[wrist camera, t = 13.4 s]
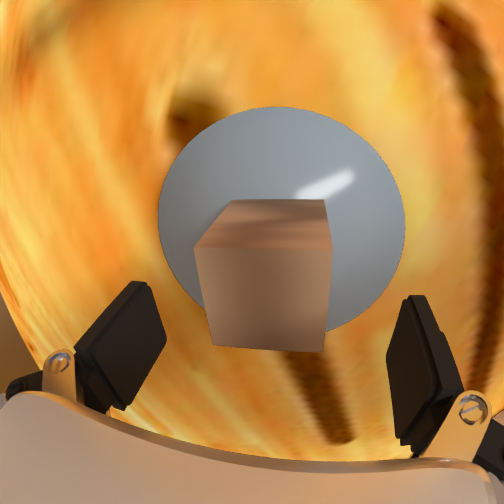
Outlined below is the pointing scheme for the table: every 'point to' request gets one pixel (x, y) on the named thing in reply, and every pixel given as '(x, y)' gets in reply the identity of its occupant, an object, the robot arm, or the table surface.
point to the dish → (289, 196)
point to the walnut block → (267, 274)
